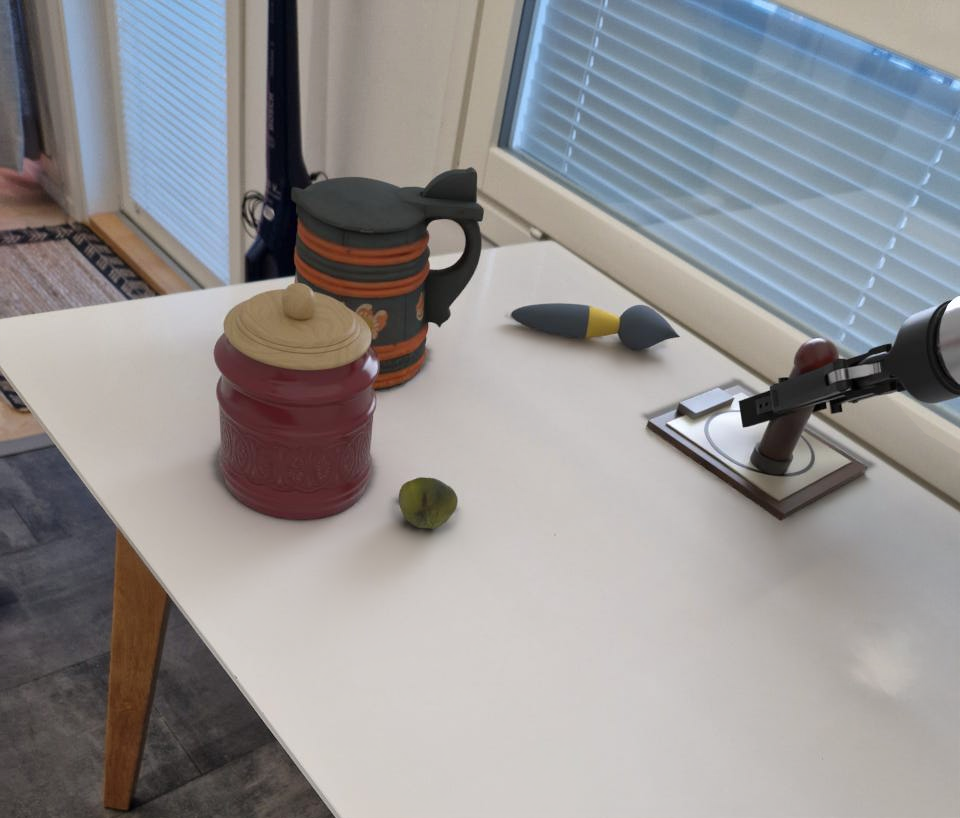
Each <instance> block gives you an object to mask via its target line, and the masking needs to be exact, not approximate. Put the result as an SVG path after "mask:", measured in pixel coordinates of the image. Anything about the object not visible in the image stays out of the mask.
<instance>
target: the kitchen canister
mask: <svg viewBox="0 0 960 818" xmlns="http://www.w3.org/2000/svg"><path fill="white" fill-rule="evenodd" d="M370 344H371V331H370V328H369V326H368V325H367V323H366V322H365V321H364V320H363V319H362V318H361V317H360V316H359V315H358V314H356V313H355V312H354V311H352V310H350V309H349V308H347V307H346V306H345V305H344V304H342V303H341V302H339V301H338V300H336V299H334V298H332V297H329V296H327V295H324V294H321V293H317V292H313V290H312V289H311V288H310V287H309V286H307V285H305V284H302V283H291V284H289V285H288V286H287V287H286V288H280V289H279V288H278V289H272V290H267V291H263V292H260V293H257V294H256V295H253V296H252V297H250V298H249V299H246V300H244V301H242V302H241V301H240V302H239V303H238V304H236V305H235V306H233V307H232V308H231V309H230V310H229V311H228V312H227V313H226V315H225V317H224V320H223V333H222V334H221V335H220V336H219V338H218V339H217V340H216V343H215V344H214V348H213V359H214V363H215V365H216V368H217V369H218V371H219V372H220V374H221V375H220V376H219V377H218V379H217V382H216V388H215V395H216V399H217V403H218V411H219V412H218V414H219V430H220V431H219V432H220V433H219V434H220V445H219V452H218V453H219V454H218V455H219V466H220V470H221V474H222V475H223V479H224V483H225V485H226V487H227V489H228V490H229V492H230V493H231V494H232V495H233V496H234V497H235V499H236V500H238V501H239V502H241V503H242V504H244V505H245V506H246V507H249V508H250V509H252V510H254V511H257V512H260V513H262V514H265V515H269V516H272V517H276V518H281V519H289V520H290V519H291V520H311V519H319V518H320V519H321V518H325V517H329V516H333V515H335V514H338V513H341V512H343V511H345V510H347V509H349V508H350V507H351V506H352V505H354V504H355V503H356V502H358V500H359V499H360V498H361V496H362V495H363V494H364V493H365V490H366V487H367V483H368V481H369V479H370V476H371V471H372V468H371V467H372V454H371V448H372V447H371V446H372V435H373V424H374V423H373V422H374V413H375V411H376V408H377V395H376V391H375V389H373V387H372V384H373V383H374V381H375V380H376V378H377V376H378V374H379V369H380V362H379V358H378V355H377V353H376V351H375V350H374V348H373V347H372V346H371V345H370Z"/></svg>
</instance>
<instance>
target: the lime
mask: <svg viewBox="0 0 960 818" xmlns="http://www.w3.org/2000/svg"><path fill="white" fill-rule="evenodd" d="M458 501H459V499H458V495H457V494H456V492H455V490H454V489H453V488H452V487H451V485H447V483H445V482H444V481H441V480H440V479H437V478H433V477H423V476H422V477H421V476H420V477H416V478H414V479H412V480H408V481H406V482H405V483H403V484H402V485H401V487H400V489H399V493H398V506H399V508H400V511H401V513H402V515H403V518H404V519H405V520H406V521H407V522H409V524H411V525H412V526H414V527H416V528H419V529H435V528H438V527H440V526H442V525H444V524H445V523H447V521H449V519H451V517H452V515H453V514H454V512H455V511H456V509H457V506H458V503H459V502H458Z"/></svg>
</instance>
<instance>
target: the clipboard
mask: <svg viewBox="0 0 960 818" xmlns="http://www.w3.org/2000/svg"><path fill="white" fill-rule="evenodd" d="M752 396H755V395H754V394H752V393H750V392H749V391H747V390H746V389H744V388H743V387H741V386H739V384H736V385H733V386H731V387H729V388H726V389H724V390H723V389H721V388H720V387H715V388H713V389H710V390H707V391H705V392H703V393H701V394H700V393H699V394H698V395H695V396H692V397H689V398H687V399H684V400H682V401H680V402H679V403H678V405H677V408H676V409H673V410H671V411H668V412H666V413H663V414H660V415H658V416H655V417H654V418H650V419H648V420H647V423H646V426H645V427H646V428H648V429H649V430H650V431H652V432H654V433H655V434H656V435H658V436H660V437H661V438H662V439H664V440H665V441H666V442H668V443H669V444H671V445H672V446H674V447H675V448H677V449H678V450H679V451H681V452H682V453H683V454H685V455H687V456H688V457H689V458H691V459H692V460H693V461H695V462H696V463H699V465H700V466H702V467H704V468H705V469H707V470H708V471H710V472H711V473H713V474H714V475H715V476H717V477H718V478H720V479H721V480H722V481H724V482H725V483H727V484H728V485H730V487H732V488H734V489H736V490H737V491H738V492H740V493H741V494H742V495H744V496H745V497H747V498H748V499H750V500H751V501H753V502H754V503H756V504H757V505H758V506H760V507H761V508H763V509H764V510H766V511H767V512H769V513H770V514H772V515H773V516H774V517H776V518H777V519H779V520H780V521H782V520H784V519H786V518H788V517H790V516H791V515H793V514H795V513H797V512H798V511H800V510H802V509H803V508H805V507H807V506H809V505H811V504H813V503H814V502H816V501H818V500H819V499H822V498H823V497H825V496H827V495H829V494H830V493H833V492H834V491H835V490H838V489H840V488H841V487H843V486H845V485H846V484H848V483H850V482H852V481H853V480H855V479H857V478H859V477H860V476H862V475H865V474H866V472H867V471H868V469H869V466H867V465H865V464H864V463H863V462H860V461H859V460H858V459H856V458H854V457H853V456H851V455H850V454H848V453H847V452H845V451H843V450H841V448H838V447H837V446H835V445H833V444H832V443H830V442H829V441H827V440H825V438H822V437H821V436H819V435H818V434H816V433H814V432H813V431H811V430H809V429H808V428H807V427H805V428H804V430H803V432H802V434H801V436H800V438H799V441H798V443H797V445H796V447H795V449H794V451H793V460H792V462H791V464H790V466H789V468H788V470H787V472H786V473H784V474H781V475H773V474H769V473H765V472H763V471H761V470H759V469H758V468H756V467H755V466H754V465H753V464H752V463H751V461H750V456H751V453H752V451H753V449H754V447H755V444H756V443H757V442H759V441H761V438H762V436H763V434H764V432H765V429H766V427H767V425H768V423H769V421H766V422H763V423H760V424H756V425H753V426H750V427H744V428H743V427H742V420H741V413H740V407H739V401H740V400H743V399H746V398H749V397H752Z"/></svg>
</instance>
